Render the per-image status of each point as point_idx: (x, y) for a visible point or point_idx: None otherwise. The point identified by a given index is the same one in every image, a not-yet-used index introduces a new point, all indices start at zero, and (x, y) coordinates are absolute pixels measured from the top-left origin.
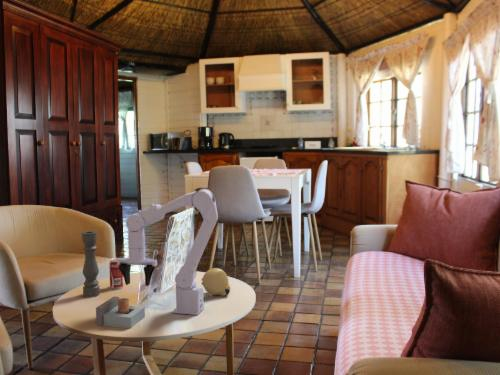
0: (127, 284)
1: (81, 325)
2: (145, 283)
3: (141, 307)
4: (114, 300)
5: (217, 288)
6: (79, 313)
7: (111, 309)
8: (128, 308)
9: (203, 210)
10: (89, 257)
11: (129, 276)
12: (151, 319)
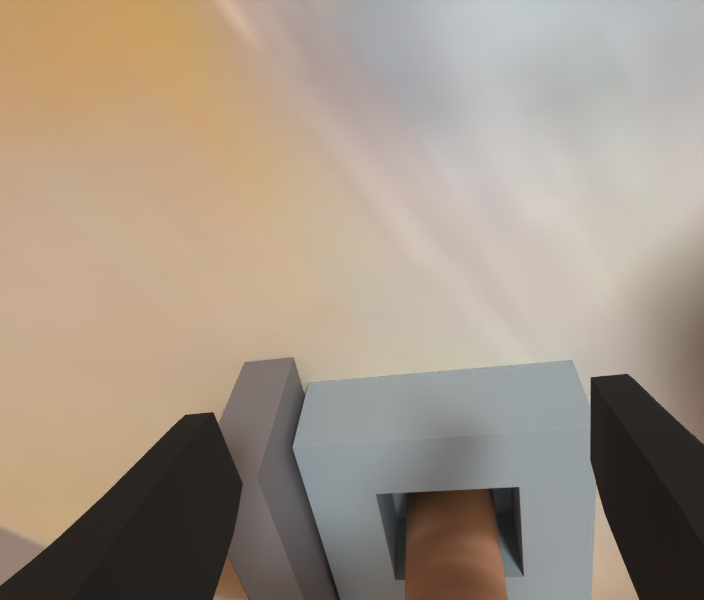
0: (241, 487)
1: (225, 570)
2: (609, 514)
3: (565, 439)
4: (285, 543)
5: None
6: (15, 438)
7: (311, 524)
8: (503, 568)
9: None
10: None
11: (155, 515)
12: (659, 382)
